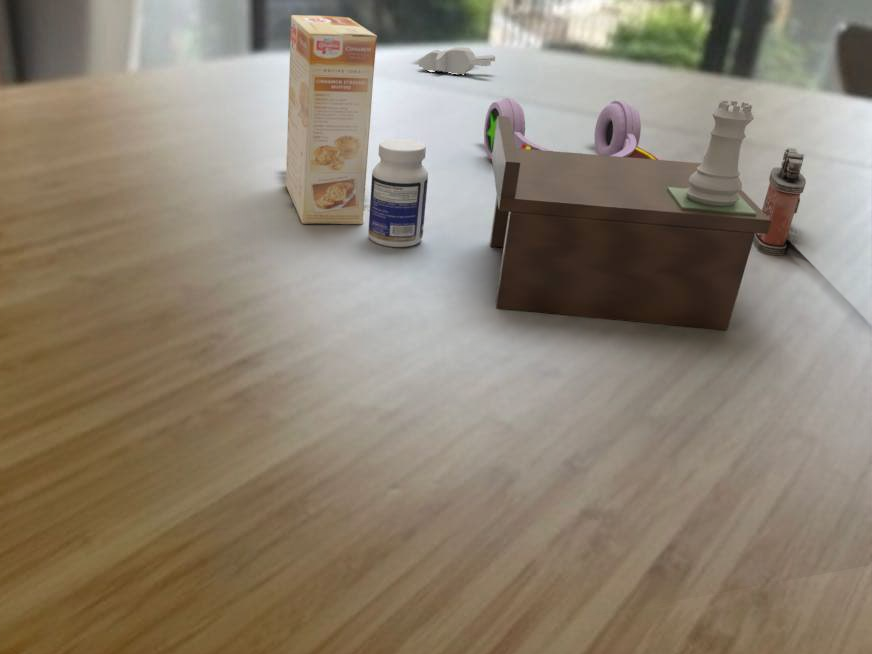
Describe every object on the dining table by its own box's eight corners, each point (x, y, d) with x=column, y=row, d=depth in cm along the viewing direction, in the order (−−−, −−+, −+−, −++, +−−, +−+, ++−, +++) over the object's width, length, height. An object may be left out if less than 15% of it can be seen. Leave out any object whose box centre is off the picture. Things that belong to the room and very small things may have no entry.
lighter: (788, 257, 97) (817, 163, 92) (754, 252, 97) (781, 159, 93) (781, 234, 103) (808, 146, 98) (749, 230, 104) (774, 142, 99)
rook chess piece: (750, 206, 76) (777, 109, 72) (705, 208, 75) (730, 109, 71) (716, 191, 80) (740, 97, 76) (673, 192, 79) (695, 98, 75)
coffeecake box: (365, 225, 99) (379, 34, 89) (300, 225, 97) (307, 32, 88) (341, 185, 111) (351, 15, 102) (284, 185, 110) (288, 13, 101)
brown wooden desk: (692, 259, 94) (724, 133, 88) (739, 331, 78) (783, 184, 72) (480, 240, 96) (497, 115, 90) (484, 307, 80) (505, 161, 74)
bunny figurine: (425, 46, 192) (496, 44, 187) (426, 72, 194) (496, 70, 190) (415, 52, 184) (489, 50, 179) (415, 78, 186) (488, 77, 182)
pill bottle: (386, 226, 98) (394, 134, 94) (431, 239, 96) (442, 144, 91) (357, 239, 94) (363, 143, 89) (403, 252, 91) (413, 154, 87)
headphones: (618, 99, 129) (692, 111, 111) (608, 169, 133) (678, 192, 114) (486, 96, 126) (539, 107, 107) (479, 168, 129) (530, 191, 111)
